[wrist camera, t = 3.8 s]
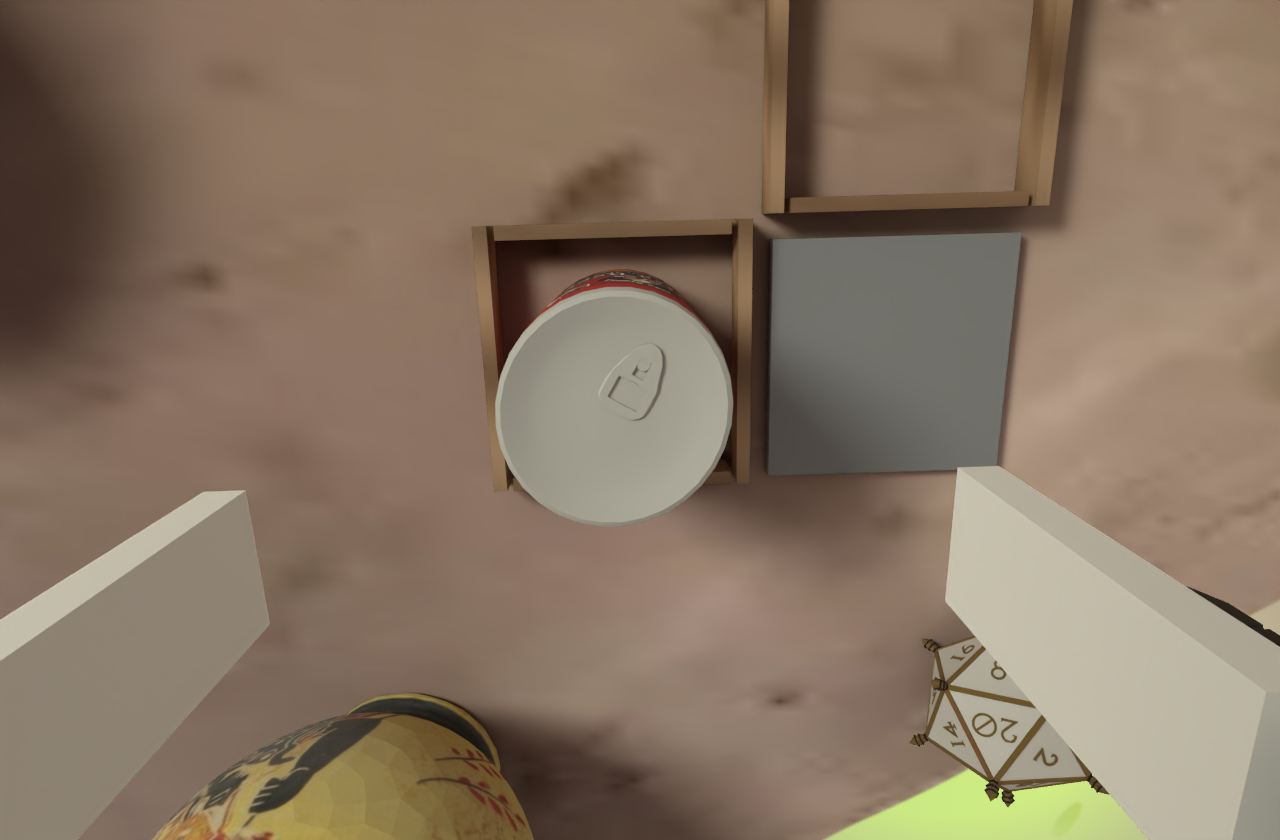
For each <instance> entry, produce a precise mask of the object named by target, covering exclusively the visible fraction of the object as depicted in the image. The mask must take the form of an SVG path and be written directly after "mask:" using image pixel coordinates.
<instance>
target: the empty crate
mask: <svg viewBox="0 0 1280 840" xmlns="http://www.w3.org/2000/svg"><path fill="white" fill-rule="evenodd" d="M1072 6H1073V0H1034V8H1033V18H1032V27H1031V37H1030V46H1029V56H1028V66H1027V75H1026V85H1025V94H1024V104H1023V114H1022V123H1021V133H1020V143H1019V152H1018V162H1017V171H1016V181H1015V191H1012V192H976V193H941V194H905V195H870V196H834V197H798V198H787V199H784V194H785V152H786V111H787V70H788V28H789V0H765V57H764V118H763V179H762V214H776V213H813V212H849V211H884V210H919V209H955V208H990V207H1025V206H1046V205H1049V203H1050V194H1051V186H1052V177H1053V169H1054V160H1055V151H1056V143H1057V134H1058V126H1059V117H1060V109H1061V100H1062V92H1063V83H1064V74H1065V66H1066V57H1067V49H1068V40H1069V32H1070V23H1071V14H1072Z"/></svg>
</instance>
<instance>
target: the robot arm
mask: <svg viewBox="0 0 1280 840" xmlns="http://www.w3.org/2000/svg"><path fill="white" fill-rule="evenodd" d="M945 601H946V603H947V604H948V605H949V606H950V607H951V608H952V610H953V611H954V612H955V613H956V614H957V616H958V617H959V618H960V619H961V620H962V621H963V623H964V624H965V625H966V626H967V627H968V628H969V630H970V631H971V632H972V633H973V634H974V635H975V637H976V638H977V639H978V640H979V641H980V643H981V644H982V645H983V646H984V647H985V648H986V650H987V651H988V652H989V653H990V654H991V655H992V657H993V658H994V659H995V660H996V661H997V663H998V664H999V665H1000V666H1001V667H1002V668H1003V670H1004V671H1005V672H1006V673H1007V674H1008V675H1009V677H1010V678H1011V679H1012V680H1013V681H1014V682H1015V684H1016V685H1017V686H1018V687H1019V688H1020V690H1021V691H1022V692H1023V693H1024V694H1025V695H1026V697H1027V698H1028V699H1029V700H1030V701H1031V702H1032V704H1033V705H1034V706H1035V707H1036V708H1037V709H1038V711H1039V712H1040V713H1041V714H1042V715H1043V717H1044V718H1045V719H1046V720H1047V721H1048V722H1049V724H1050V725H1051V726H1052V727H1053V728H1054V729H1055V731H1056V732H1057V733H1058V734H1059V735H1060V737H1061V738H1062V739H1063V740H1064V741H1065V742H1066V744H1067V745H1068V746H1069V747H1070V748H1071V749H1072V751H1073V752H1074V753H1075V754H1076V755H1077V756H1078V758H1079V759H1080V760H1081V761H1082V762H1083V764H1084V765H1085V766H1086V767H1087V768H1088V769H1089V771H1090V772H1091V773H1092V774H1093V775H1094V776H1095V778H1096V779H1097V780H1098V781H1099V782H1100V783H1101V785H1102V786H1103V787H1104V788H1105V789H1106V791H1107V792H1108V793H1109V794H1110V795H1111V796H1112V798H1113V799H1114V800H1115V801H1116V802H1117V803H1118V805H1119V806H1120V807H1121V808H1122V809H1123V811H1124V812H1125V813H1126V814H1127V815H1128V816H1129V818H1130V819H1131V820H1132V821H1133V822H1134V823H1135V825H1136V826H1137V827H1138V828H1139V829H1140V830H1141V832H1142V833H1143V834H1144V835H1145V836H1146V838H1147V839H1148V840H1280V635H1278V634H1276V633H1275V632H1273V631H1272V630H1270V629H1264V628H1263V625H1262V624H1261V623H1259V622H1257V621H1256V620H1254V619H1253V618H1251V617H1249V616H1248V615H1246V614H1245V613H1243V612H1241V611H1240V610H1238V609H1237V608H1235V607H1233V606H1232V605H1230V604H1229V603H1226V602H1224V601H1222V600H1219V599H1217V598H1214V597H1212V596H1209V595H1207V594H1204V593H1202V592H1200V591H1197V590H1195V589H1192V588H1190V587H1187V586H1185V585H1183V584H1181V583H1180V582H1178V581H1177V580H1175V579H1173V578H1172V577H1170V576H1169V575H1167V574H1166V573H1164V572H1163V571H1161V570H1160V569H1158V568H1156V567H1155V566H1153V565H1152V564H1150V563H1149V562H1147V561H1146V560H1144V559H1142V558H1141V557H1139V556H1138V555H1136V554H1135V553H1133V552H1132V551H1130V550H1128V549H1127V548H1125V547H1124V546H1122V545H1121V544H1119V543H1118V542H1116V541H1114V540H1113V539H1111V538H1110V537H1108V536H1107V535H1105V534H1104V533H1102V532H1100V531H1099V530H1097V529H1096V528H1094V527H1093V526H1091V525H1090V524H1088V523H1086V522H1085V521H1083V520H1082V519H1080V518H1079V517H1077V516H1076V515H1074V514H1073V513H1071V512H1069V511H1068V510H1066V509H1065V508H1063V507H1062V506H1060V505H1059V504H1057V503H1055V502H1054V501H1052V500H1051V499H1049V498H1048V497H1046V496H1045V495H1043V494H1041V493H1040V492H1038V491H1037V490H1035V489H1034V488H1032V487H1031V486H1029V485H1027V484H1026V483H1024V482H1023V481H1021V480H1020V479H1018V478H1017V477H1015V476H1013V475H1012V474H1010V473H1009V472H1007V471H1006V470H1004V469H1003V468H1001V467H999V466H983V467H958V469H957V479H956V490H955V501H954V512H953V522H952V533H951V544H950V555H949V565H948V576H947V587H946V598H945ZM269 625H270V621H269V616H268V611H267V605H266V600H265V594H264V589H263V583H262V578H261V572H260V567H259V561H258V556H257V550H256V545H255V539H254V534H253V528H252V523H251V517H250V512H249V506H248V501H247V496H246V490H244V491H213V492H202V493H201V494H199V495H198V496H196V497H195V498H193V499H191V500H190V501H188V502H187V503H185V504H183V505H182V506H180V507H179V508H177V509H175V510H174V511H172V512H171V513H169V514H167V515H166V516H164V517H163V518H161V519H160V520H158V521H156V522H155V523H153V524H152V525H150V526H148V527H147V528H145V529H144V530H142V531H140V532H139V533H137V534H136V535H134V536H132V537H131V538H129V539H128V540H126V541H125V542H123V543H121V544H120V545H118V546H117V547H115V548H113V549H112V550H110V551H109V552H107V553H105V554H104V555H102V556H101V557H99V558H98V559H96V560H94V561H93V562H91V563H90V564H88V565H86V566H85V567H83V568H82V569H80V570H78V571H77V572H75V573H74V574H72V575H70V576H69V577H67V578H66V579H64V580H63V581H61V582H59V583H58V584H56V585H55V586H53V587H51V588H50V589H48V590H47V591H45V592H43V593H42V594H40V595H39V596H37V597H35V598H34V599H32V600H31V601H29V602H28V603H26V604H24V605H23V606H21V607H20V608H18V609H16V610H15V611H13V612H12V613H10V614H8V615H7V616H5V617H4V618H2V619H1V620H0V840H78V839H79V837H80V836H81V835H82V834H83V833H84V832H85V831H86V830H87V828H88V827H89V826H90V825H91V824H92V823H93V822H94V821H95V820H96V818H97V817H98V816H99V815H100V814H101V813H102V812H103V811H104V809H105V808H106V807H107V806H108V805H109V804H110V803H111V802H112V801H113V799H114V798H115V797H116V796H117V795H118V794H119V793H120V792H121V790H122V789H123V788H124V787H125V786H126V785H127V784H128V783H129V782H130V780H131V779H132V778H133V777H134V776H135V775H136V774H137V773H138V771H139V770H140V769H141V768H142V767H143V766H144V765H145V764H146V763H147V761H148V760H149V759H150V758H151V757H152V756H153V755H154V754H155V752H156V751H157V750H158V749H159V748H160V747H161V746H162V745H163V743H164V742H165V741H166V740H167V739H168V738H169V737H170V736H171V735H172V733H173V732H174V731H175V730H176V729H177V728H178V727H179V726H180V724H181V723H182V722H183V721H184V720H185V719H186V718H187V717H188V716H189V714H190V713H191V712H192V711H193V710H194V709H195V708H196V707H197V705H198V704H199V703H200V702H201V701H202V700H203V699H204V698H205V697H206V695H207V694H208V693H209V692H210V691H211V690H212V689H213V688H214V686H215V685H216V684H217V683H218V682H219V681H220V680H221V679H222V677H223V676H224V675H225V674H226V673H227V672H228V671H229V670H230V669H231V667H232V666H233V665H234V664H235V663H236V662H237V661H238V660H239V658H240V657H241V656H242V655H243V654H244V653H245V652H246V651H247V650H248V648H249V647H250V646H251V645H252V644H253V643H254V642H255V641H256V639H257V638H258V637H259V636H260V635H261V634H262V633H263V632H264V631H265V629H266V628H267V627H268V626H269Z"/></svg>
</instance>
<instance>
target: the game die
mask: <svg viewBox="0 0 1280 840" xmlns="http://www.w3.org/2000/svg"><path fill="white" fill-rule="evenodd" d="M922 641H923V643H924V647H925V648H928V650H929V651H932V652H934V658H933V667H932V676H931V681H930V682H931V684H930V693H929V702H928V711H927V720H926V729H925V734H918V735H914V737H913V738H912V740H911V741H910V743H911V744H914V745H918V746H919V747H920V745H922V744H923V745H924V743H925V742H926V741H929V742H931V743H932V744H934V745H935V746H937V747H938V748H940V749H941V750H943V751H944V752H945V753H947V754H948V755H950V756H951V757H953V758H954V759H956V760H957V761H959V762H960V763H962V764H963V765H964V766H966V767H967V768H969V769H970V770H972V771H973V772H975V773H976V774H978V775H979V776H981V777H982V778H984V779H985V780H987V781H988V782H989V783H988V784H987V785H986V787H987V788H986V789H985V792H986V793H987V795H988V797H989V799H990V801H991V800H993V799H994V798H997V797H998V795H999V793H998V791H999V788H1001V789H1003V790H1004V791H1003V792H1002V795H1003V796H1002V800H1003V802H1005V804H1006V806H1007V807H1009V806H1010V804H1011V803H1013V802H1014V801H1015V800H1014V799H1013V797H1014V795H1013V794H1012V791H1017V790H1024V789H1032V788H1038V787H1045V786H1053V785H1060V784H1066V783H1074V782H1081V781H1088V782H1089V783H1090V784H1091V788H1094V789H1095V790H1096V792H1101V793H1105V794H1109V793H1108V792H1107V791H1106V789H1105V788H1104V787H1103V786H1102V785H1101V783H1100V782H1099V781H1098V780H1097V779H1096V778H1095V777H1093V776H1092V773H1091V772H1090V771H1089V769H1088V768H1087V767H1086V766H1085V765H1084V764H1083V762H1082V761H1081V760H1080V759H1079V758H1078V756H1077V755H1076V754H1075V753H1074V752H1073V751H1072V749H1071V748H1070V747H1069V746H1068V745H1067V744H1066V742H1065V741H1064V740H1063V739H1062V738H1061V737H1060V735H1059V734H1058V733H1057V732H1056V731H1055V729H1054V728H1053V727H1052V726H1051V725H1050V724H1049V722H1048V721H1047V720H1046V719H1045V718H1044V717H1043V715H1042V714H1041V713H1040V712H1039V711H1038V709H1037V708H1036V707H1035V706H1034V705H1033V704H1032V702H1031V701H1030V700H1029V699H1028V698H1027V697H1026V695H1025V694H1024V693H1023V692H1022V691H1021V690H1020V688H1019V687H1018V686H1017V685H1016V684H1015V682H1014V681H1013V680H1012V679H1011V678H1010V677H1009V675H1008V674H1007V673H1006V672H1005V671H1004V670H1003V668H1002V667H1001V666H1000V665H999V664H998V663H997V661H996V660H995V659H994V658H993V657H992V655H991V654H990V653H989V652H988V651H987V650H986V648H985V647H984V646H983V645H982V644H981V643H980V641H979V640H978V639H977V638H976V637H975V636H973V637H970V638H967V639H964V640H961V641H958V642H955V643H952V644H949V645H947V646H944V647H941V648H938V647H937V646H936V645H935V644H936V643H934V642H932V639H931V640H927V639H922ZM998 787H999V788H998ZM1109 795H1110V794H1109Z"/></svg>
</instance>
